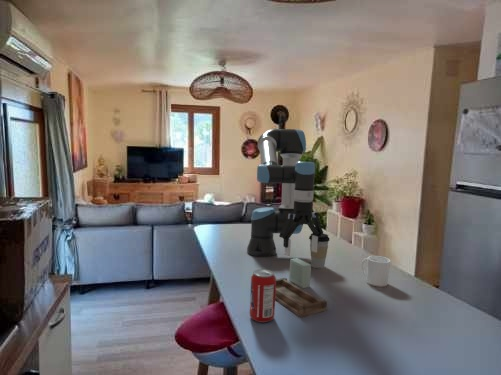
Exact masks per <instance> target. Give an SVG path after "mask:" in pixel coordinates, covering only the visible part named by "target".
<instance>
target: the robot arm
mask: <svg viewBox="0 0 501 375" xmlns="http://www.w3.org/2000/svg"><path fill="white" fill-rule="evenodd" d="M257 149H258V151H259V156H260V157H259V158H260V164H258V165H257V167H256V180H257V182H258V183H265V184H269V183H270V184H281V204H280V205H279V206H278V210H276V209H275V207H269V206H267V207H260V208H255V209H254V210H252V212H251V218H250V220H251V223H250V224H251V227H250V229H251V230H250V239H249V242H248V244H247V248H246V253H247V254H248V255H251V256H254V257H261V258H262V257H263V258H264V257H266V258H267V257H273V256H275V255H276V254H277V248H276V242H275V239H274V234H279V235H278V236H279V237H280V238H282V239H283V242H282V243H283V248H284V254H283V255H284V256H287V257H291V246H292V245H291V244H292V240H291V239H290V238H291V236H292V235H293V234H294V235H298V234H301V232H302V229H303V226H304V225H307V226H308V228H309V230H310V231H311V232H312V233H313V234H314V235H312V246H311V251H313V252H317V244H318V242H319V237H320V236H321V234H324V231H323V227H322V224H321V222H320V219H319V212H316V211H313V210H314V202H313V201H314V193H315V191H314V190H315V189H314V188H315V174H316V168H315V167H316V164H315V163H314V162H313V161H300V159H301V157H302V156H303V153H306V150H307V140H306V134H305V131H303V130H301V129H295V128H291V129H290V128H271V129H269V130H266V131H264V132H263V133H261V135H260V136H259V138H258V139H257ZM277 152H279V156H280V157H281V158H282V165H281V164H279V161H278V157H277ZM311 251H310V252H311Z"/></svg>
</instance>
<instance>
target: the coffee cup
mask: <svg viewBox="0 0 501 375" xmlns="http://www.w3.org/2000/svg"><path fill="white" fill-rule="evenodd" d="M312 235H314V234H313V232H312V233H311V234H310V235H309V238H308V240H309V241H310V244H309V247H310V248H309V249H310V259H311V260H310V261H311V262H310V264H311V268H315V269H324V268H325V266H326V258H327V255H328V254H327V253H328V250H329V249H328V248H329V241H330V237H329V235H328V234H327V233H323V234H321V236H320V237H319V242H318V244H317V252H313V251H311V246H312Z"/></svg>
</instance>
